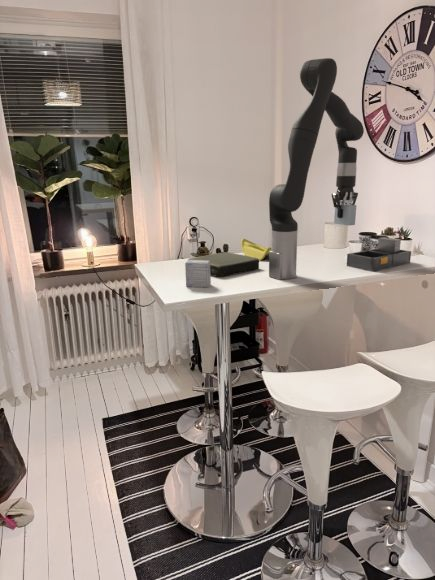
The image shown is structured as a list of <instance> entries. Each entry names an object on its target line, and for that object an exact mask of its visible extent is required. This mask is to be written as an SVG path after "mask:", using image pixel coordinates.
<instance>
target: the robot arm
mask: <svg viewBox="0 0 435 580" xmlns="http://www.w3.org/2000/svg"><path fill="white" fill-rule="evenodd" d="M337 74H338V65H337V62H336V60H335V59H334V58H330V57H329V58H328V57H327V58H316V59H309V60H306V61H305V62H304V63H303V64H302V65H301V68H300V71H299V79H300V82H301V85H302V87H303V88H304V89H305V90H306V91H307V92H308V93H309V94H310V95H311V96H312V98H311V99H310V102H309V103H308V105H307V106H306V107H305V109H303V111H302V112H301V113H300V115H298V117H297V118H296V119H295V121H294V123H293V125H292V127H291V131H290V134H289V137H288V144H287V151H288V152H287V153H288V158H289V172H288V175H287V180H286V182H285V184H284V183H283V184H282V183H281V184H277V185H275V186H274V187H272V189H271V191H270V193H269V197H268V199H269V200H268V205H269V222H270V225H271V251H270V252H269V256H268V277H270V278H274V279H277V280H291V279H295V278H296V277H297V263H298V262H297V260H298V259H297V258H298V257H297V256H298V253H297V252H298V228H299V226H298V222H297V220H295V219H294V217H293V215H292V213H293V212H296V211H297V210H299V209H300V207H301V206H302V203H303V202H304V201H303V200H304V196H305V191H306V186H307V179H308V173H309V171H310V170H309V169H310V167H311V162H312V157H313V154H314V150H315V148H316V144H317V140H318V137H319V134H320V128H321V125H322V121H323V119H324V118H323V117H324V114H325V112H326V114H327V115H328V117H329V118H330V120H331V122H332V124H333V125H334V127H336V129H335V139H336V140H335V141H336V144H337V151H338V159H337V168H336V183H335V186H336V188H337V190H336V192H335V193H331V199H332V204H333V208H335V207H336V208H337V209H338V211H337V217H338V218H343V207H344V204H348V205H356V201H357V199H358V195H359V192H355V190H354V188H355V187H356V182H357V160H358V159H357V158H358V157H357V156H358V150H357V148H356V147H352V146H349V145H348V142H356V141H359V140H361V139H362V138H363V135H364V132H365V128H364V126H363V123H362V122H361V120H359V118H357V117H356V115H354V114H353V113H351V111H350V109H349V108H348V106H347V103H346V102H345V101H344V100H343V99H342V98H341V97H340V96H339V95H337V94H336V93H335V92H333V88H334V85H335V83H336V79H337ZM340 204H341V205H340Z"/></svg>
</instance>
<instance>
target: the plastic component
mask: <svg viewBox="0 0 435 580" xmlns="http://www.w3.org/2000/svg"><path fill="white" fill-rule="evenodd" d="M240 245H241V246H240V247H241V251H242V253H243V255H244V256H249V257H254V258H258V259H259V262H260V261H263V260H264V258H265V257H266V256H268V257H269V252H270V251H271V247H272V246H271V247H270V246H269V247H268V246H267V247H266V246H261V245H259V244H256V243H254V242H252V241H250V240H248V239H246V238H241V243H240Z"/></svg>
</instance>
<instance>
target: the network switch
mask: <svg viewBox="0 0 435 580" xmlns="http://www.w3.org/2000/svg"><path fill="white" fill-rule="evenodd" d="M189 260H202V261H210V276H213V277H217V278H224V277H229V276H233V275H237V274H242V273H246V272H247V273H249V272H252V271H257V270H259V268H260V261H259V259H258V258H254V257H249V256H246V255H245V254H239V253H233V252H227V251H223V252H216V253H213V254H206V255H202V256H196V257H189V258H188V259H187V261H189Z"/></svg>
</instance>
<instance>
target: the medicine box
mask: <svg viewBox="0 0 435 580" xmlns="http://www.w3.org/2000/svg"><path fill="white" fill-rule="evenodd" d="M184 265H185V268H184V269H185V285H186V286H185V287H186V288H209V287H210V286H211V285H212V281H211V278H212V277H211V276H212V275H211V274H210V261H202V260H189V261H188V260H187V261H186V262H185V263H184Z"/></svg>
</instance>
